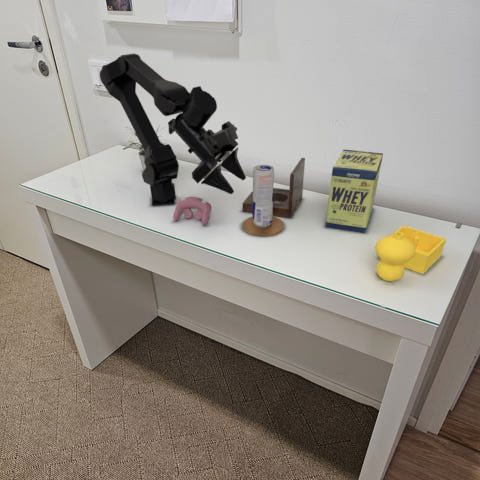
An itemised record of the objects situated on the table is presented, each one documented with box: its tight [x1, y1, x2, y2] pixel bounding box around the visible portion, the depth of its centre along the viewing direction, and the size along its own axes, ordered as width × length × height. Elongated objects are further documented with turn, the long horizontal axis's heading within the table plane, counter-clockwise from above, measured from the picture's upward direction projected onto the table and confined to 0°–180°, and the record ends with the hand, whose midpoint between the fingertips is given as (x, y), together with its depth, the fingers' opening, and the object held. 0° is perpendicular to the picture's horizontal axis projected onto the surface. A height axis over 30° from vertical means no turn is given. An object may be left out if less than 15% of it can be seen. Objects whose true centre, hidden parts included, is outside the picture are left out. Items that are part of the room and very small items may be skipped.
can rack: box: [242, 187, 303, 219], centre depth 124 cm, size 14×13×2 cm
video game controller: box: [172, 196, 213, 227], centre depth 117 cm, size 10×5×7 cm, turn 71°
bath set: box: [375, 225, 447, 282], centre depth 95 cm, size 20×10×11 cm, turn 138°
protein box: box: [325, 149, 384, 234], centre depth 113 cm, size 10×16×16 cm
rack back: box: [288, 157, 306, 219], centre depth 119 cm, size 1×13×12 cm, turn 161°
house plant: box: [125, 126, 166, 171], centre depth 143 cm, size 14×14×16 cm
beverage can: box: [252, 164, 275, 228], centre depth 110 cm, size 5×5×15 cm
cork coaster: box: [241, 216, 285, 237], centre depth 114 cm, size 11×11×1 cm
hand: (238, 185), depth 110 cm, fingers open, 9 cm apart
